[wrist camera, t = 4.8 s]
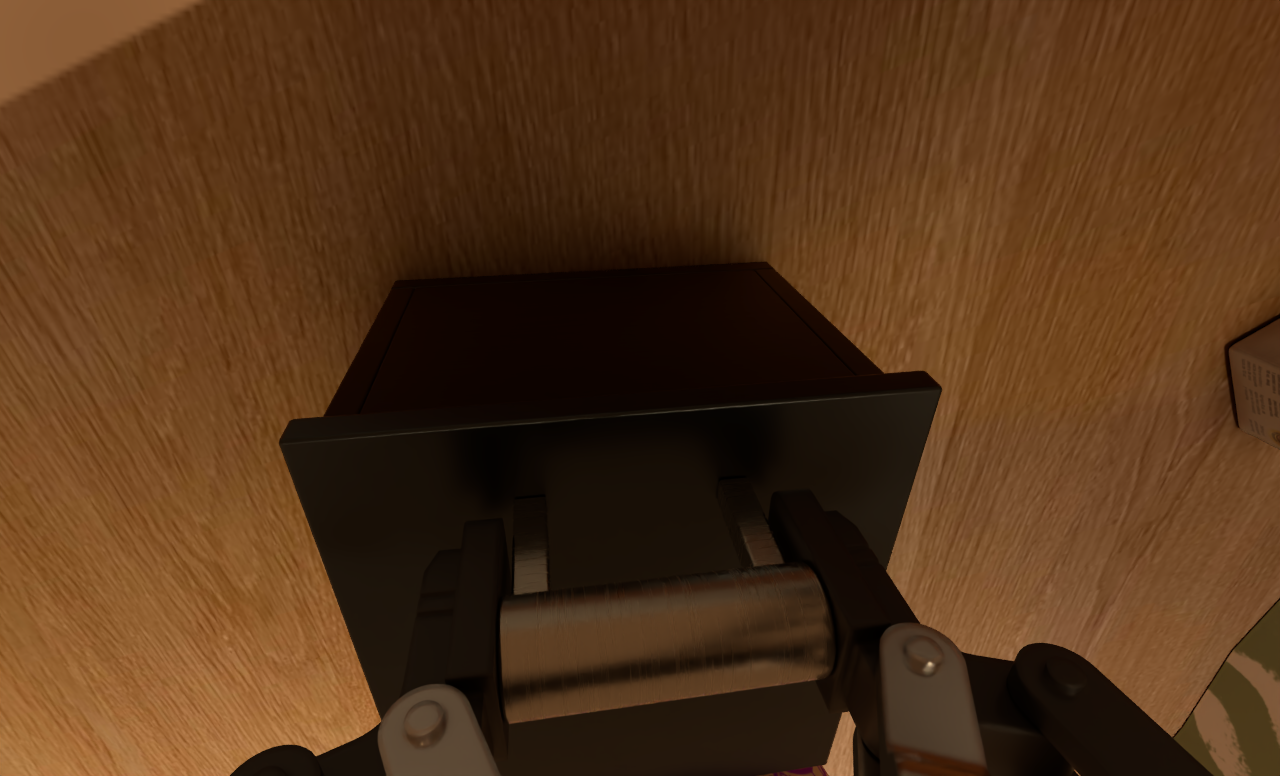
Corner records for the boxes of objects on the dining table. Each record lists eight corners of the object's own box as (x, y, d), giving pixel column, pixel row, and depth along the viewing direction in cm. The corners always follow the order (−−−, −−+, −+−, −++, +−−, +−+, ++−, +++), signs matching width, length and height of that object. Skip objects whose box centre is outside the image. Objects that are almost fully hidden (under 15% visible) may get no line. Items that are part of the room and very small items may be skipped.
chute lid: (289, 417, 13) (159, 657, 8) (925, 368, 14) (1107, 543, 10) (424, 804, 21) (397, 1029, 16) (817, 742, 23) (890, 930, 18)
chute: (395, 280, 22) (314, 429, 14) (767, 261, 24) (896, 383, 16) (454, 582, 29) (424, 803, 21) (739, 550, 31) (817, 741, 23)
